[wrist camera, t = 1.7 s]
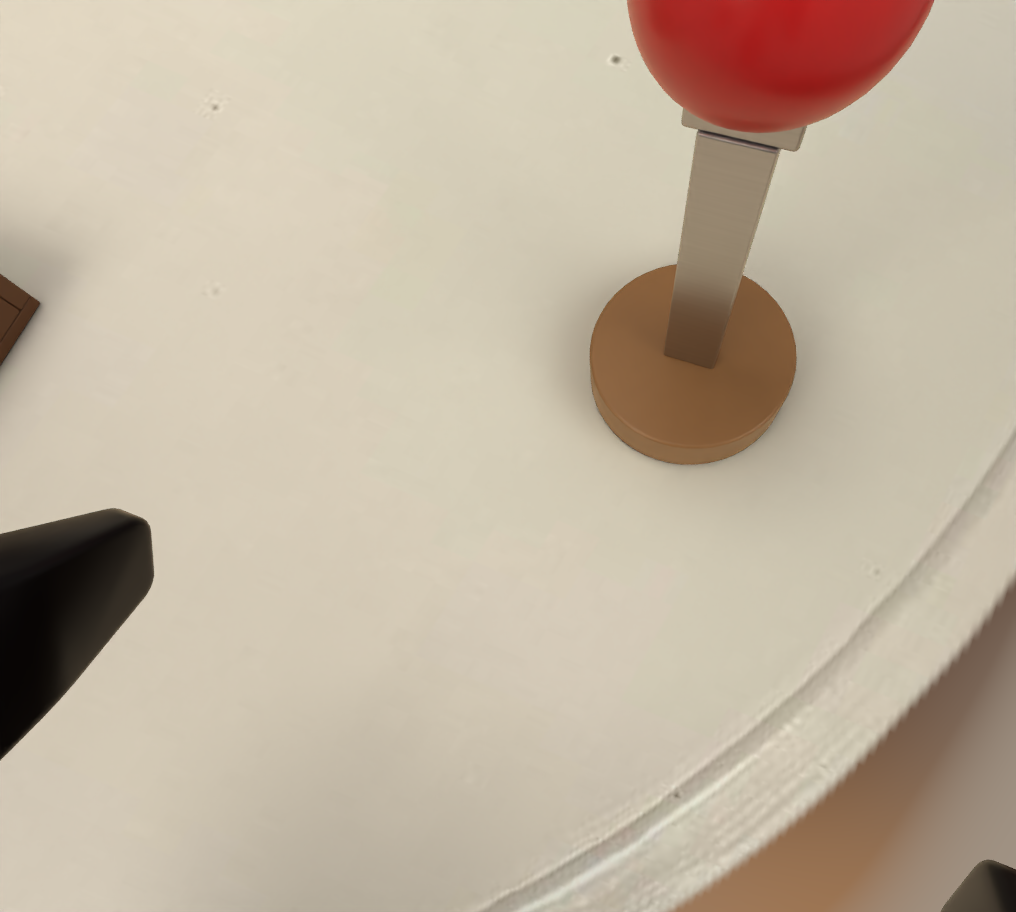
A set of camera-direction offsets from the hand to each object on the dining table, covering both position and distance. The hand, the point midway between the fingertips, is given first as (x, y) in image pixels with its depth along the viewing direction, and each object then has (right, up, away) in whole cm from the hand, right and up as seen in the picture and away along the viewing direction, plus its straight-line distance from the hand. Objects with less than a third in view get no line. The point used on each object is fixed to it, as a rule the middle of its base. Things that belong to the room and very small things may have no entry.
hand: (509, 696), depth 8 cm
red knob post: (+5, +5, +15) cm, 17 cm away
